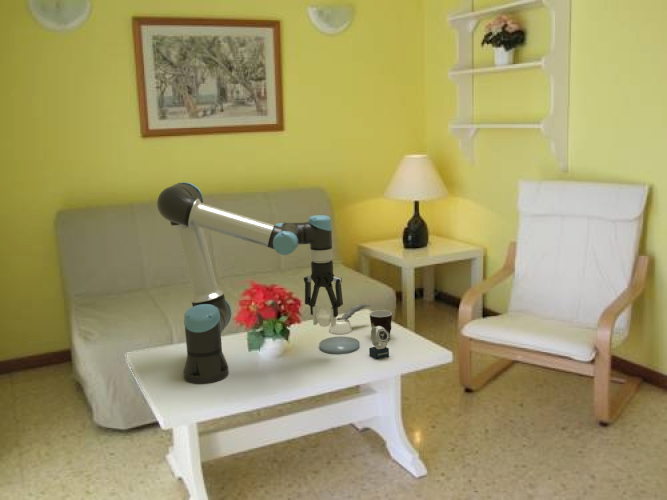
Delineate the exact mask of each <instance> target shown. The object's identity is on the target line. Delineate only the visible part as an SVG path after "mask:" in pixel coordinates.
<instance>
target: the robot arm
mask: <svg viewBox="0 0 667 500" xmlns="http://www.w3.org/2000/svg"><path fill="white" fill-rule="evenodd" d="M156 206H157V210H158V213H159V214H160V215H161V217H163V219H165V220H167V221H169V223H170V226H171V227H172V228H174V229H175V230H177V235H178V239H179V243H180V247H181V250H182V253H183V258H184V262H185V265H186V270H187V273H188V277H189V280H190V284H191V288H192V292H193V296H192V298H191V300H190V302H191V305H192V306H191V307H189V308H188V309H187V310H186V311H185V312H184V317H183V318H184V320H183V324H184V332H185V333H184V334H185V343H186V344H185V345H186V352H187V353H186V355H187V356H186V359H185V362H184V367H183V379H184V380H185V381H187V382H188V383H192V384H211V383H215V382H219V381H221V380H224V379H225V378H227V377H228V375H229V373H230V370H229V365H228V362H227V360H226V357H225V356H224V353H223V347H222V333H223V331H224V330H225V329H226V328H227V327H228V325H229V324H230V321H231V319H232V307H231V304H230V303H229V302H228V300H227V299H226V297H225V294H224V291H223V290H221V289H219V287H218V283H217V279H216V276H215V271H214V267H213V264H212V260H211V257H210V252H209V248H208V247H209V246H208V245H207V240H206V236H205V231H204V229H206V230H208V231H209V230H210V231H213V232H217V233H220V234H222V235H223V234H224V235H226V236H229V237H232V238H236V239H239V240H242V241H245V242H248V243H252V244H256V245H258V246H259V245H260V246H262V247H265V248H270V249H272V250H274V251H275V252H276V253H277V254H279V255H282V256H287V255H288V256H289V255H290V254H293V252H295V251H296V250H297V248H298V246H299V245H310V247H309V248H310V260H311V262H310V266H311V267H310V269H311V274H310V275H306V276H304V277H303V281H304V282H303V283H304V304H305V305H308V306H309V307H310V315H311V316H312V323H313V324H312V325H314V326H317V325H318V324H319V323H318V321H317V319H316V314H317V313H318V311H319V307H318V306H319V305H318V304H317V299H318V296H319V292H320V288H324V289H325V290H326V292H327V295H328V298H329V301H330V304H331V306H332V307H331V308H330V312H331V323H330V325H331V327H333V326H335V325H336V318H337V317H339V316H338V315H339V308H340V307H342V306H343V304H344V301H343V299H344V298H343V292H342V282H343V281H342V280H343V278H342V277H336V276H335V274H334V263H333V262H334V261H333V234H332V233H333V231H332V221H331V220H332V219H331V218H330V217H329V216H328V215H324V214H323V215H322V214H320V215H319V214H318V215H311V216H309V218H308V221H306V222H286V221H285V222H279V223H276V224H272V223H269V222H265V221H262V220H258V219H255V218H252V217H249V216H245V215H242V214H240V213H236V212H233V211H228V210H226V209H223V208H220V207H217V206H216V207H215V206H213V205H209V204H207V203H204V197H203V193H202V191H201V189H200V188H199V187H198V186H196V184H194V183H191V182H183V181H182V182H177V183H174V184H172V185H171V186H168V187H166V188H165V189H163V190H162V191H160V193H159V195H158V197H157V200H156ZM333 281H334V283H333V284H335V285H334V286H335V287H333V284H332V282H333ZM312 282H313V283H314V285H313V290H312ZM333 288H335V292H334V289H333Z"/></svg>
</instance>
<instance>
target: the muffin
mask: <svg viewBox="0 0 667 500" xmlns="http://www.w3.org/2000/svg"><path fill="white" fill-rule="evenodd" d="M316 319H317V321H318V323H317V324H318V325H319V326H320V327H321V328H322V327H324V328H325V327H330V325H331V309H330V308H329V307H328V306H325V305H324V306H320V307H318V313H317V314H316Z"/></svg>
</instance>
